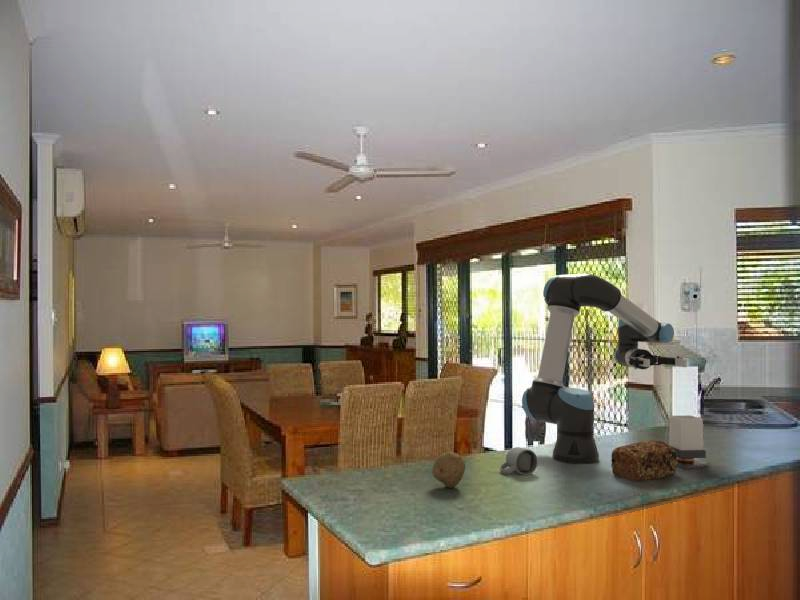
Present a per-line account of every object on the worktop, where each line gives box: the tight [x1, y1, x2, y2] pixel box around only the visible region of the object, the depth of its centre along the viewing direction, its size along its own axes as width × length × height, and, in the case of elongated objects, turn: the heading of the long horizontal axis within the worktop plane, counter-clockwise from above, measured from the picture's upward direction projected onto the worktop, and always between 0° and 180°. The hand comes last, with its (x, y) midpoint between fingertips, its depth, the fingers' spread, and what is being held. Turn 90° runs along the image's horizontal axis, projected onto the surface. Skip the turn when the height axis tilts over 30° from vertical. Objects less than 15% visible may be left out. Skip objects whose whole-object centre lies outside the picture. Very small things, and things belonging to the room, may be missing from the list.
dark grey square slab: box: [670, 446, 707, 459], centre depth 222 cm, size 9×9×2 cm
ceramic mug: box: [499, 446, 539, 476], centre depth 208 cm, size 11×8×8 cm
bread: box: [610, 439, 677, 483], centre depth 207 cm, size 19×11×10 cm, turn 121°
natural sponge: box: [432, 451, 466, 489], centre depth 190 cm, size 9×9×10 cm
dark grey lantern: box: [676, 457, 710, 470], centre depth 222 cm, size 10×10×12 cm
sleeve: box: [668, 415, 704, 450], centre depth 222 cm, size 7×7×10 cm
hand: (667, 363), depth 236 cm, fingers open, 13 cm apart
